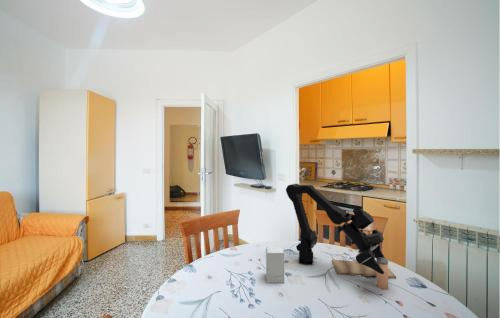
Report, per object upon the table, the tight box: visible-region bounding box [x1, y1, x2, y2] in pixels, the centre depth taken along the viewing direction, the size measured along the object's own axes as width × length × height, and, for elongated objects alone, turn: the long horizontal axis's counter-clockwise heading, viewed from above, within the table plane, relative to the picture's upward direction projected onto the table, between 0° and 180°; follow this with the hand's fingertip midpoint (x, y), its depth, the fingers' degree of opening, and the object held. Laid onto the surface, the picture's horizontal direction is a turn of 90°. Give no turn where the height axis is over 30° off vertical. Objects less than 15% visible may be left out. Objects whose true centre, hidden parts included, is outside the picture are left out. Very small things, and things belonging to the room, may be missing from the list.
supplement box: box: [265, 245, 285, 284], centre depth 95 cm, size 7×7×13 cm
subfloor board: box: [331, 259, 397, 279], centre depth 102 cm, size 24×12×1 cm, turn 79°
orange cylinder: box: [375, 257, 389, 290], centre depth 88 cm, size 4×4×11 cm
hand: (385, 268), depth 87 cm, fingers open, 9 cm apart
